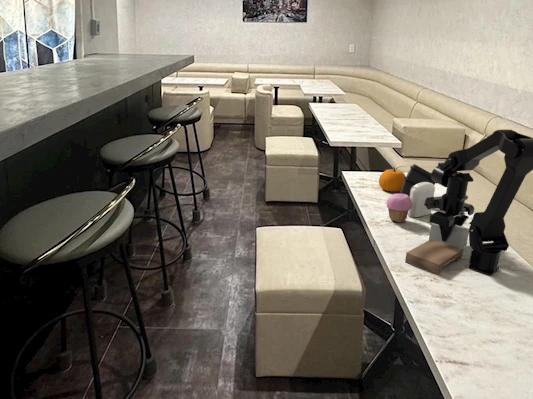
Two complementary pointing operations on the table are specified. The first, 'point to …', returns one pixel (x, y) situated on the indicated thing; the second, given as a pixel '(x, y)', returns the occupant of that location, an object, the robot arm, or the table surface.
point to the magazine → (415, 179)
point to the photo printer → (420, 198)
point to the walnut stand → (433, 255)
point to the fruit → (392, 180)
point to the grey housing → (451, 236)
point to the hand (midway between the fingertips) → (448, 238)
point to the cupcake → (399, 206)
